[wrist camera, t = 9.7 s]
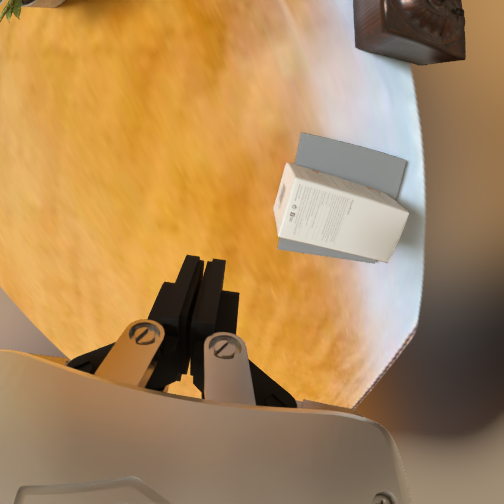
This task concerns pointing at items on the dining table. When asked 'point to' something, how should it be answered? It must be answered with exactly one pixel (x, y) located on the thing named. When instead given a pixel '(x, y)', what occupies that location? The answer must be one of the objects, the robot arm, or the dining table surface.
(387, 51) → the manual coffee grinder
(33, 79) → the dining table surface
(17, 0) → the house plant
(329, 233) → the small box
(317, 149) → the mat
